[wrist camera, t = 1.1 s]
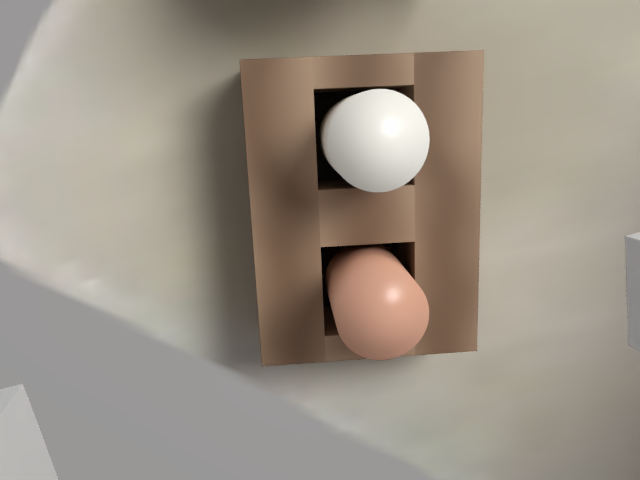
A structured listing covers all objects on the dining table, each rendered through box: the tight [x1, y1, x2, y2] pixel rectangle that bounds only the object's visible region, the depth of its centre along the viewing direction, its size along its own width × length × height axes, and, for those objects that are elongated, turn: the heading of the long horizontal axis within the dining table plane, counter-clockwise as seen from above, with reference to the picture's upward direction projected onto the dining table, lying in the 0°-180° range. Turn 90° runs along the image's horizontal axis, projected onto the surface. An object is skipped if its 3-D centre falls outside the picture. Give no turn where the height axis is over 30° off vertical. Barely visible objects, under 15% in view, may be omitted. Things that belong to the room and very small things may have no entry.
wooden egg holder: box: [240, 50, 484, 366], centre depth 30 cm, size 12×16×4 cm
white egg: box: [319, 89, 430, 192], centre depth 26 cm, size 4×4×6 cm
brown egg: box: [325, 244, 429, 360], centre depth 28 cm, size 4×4×6 cm
